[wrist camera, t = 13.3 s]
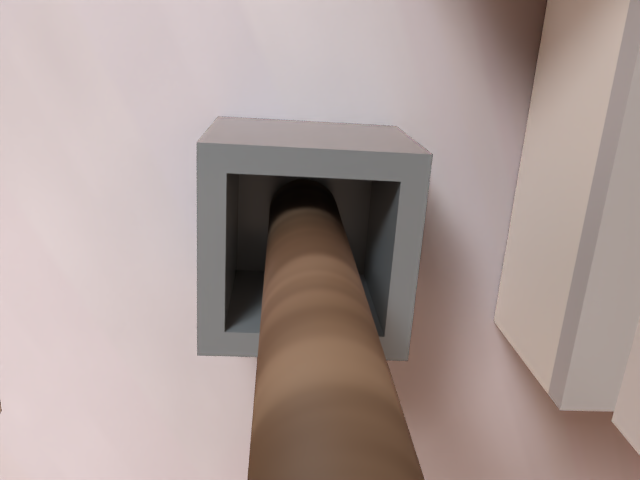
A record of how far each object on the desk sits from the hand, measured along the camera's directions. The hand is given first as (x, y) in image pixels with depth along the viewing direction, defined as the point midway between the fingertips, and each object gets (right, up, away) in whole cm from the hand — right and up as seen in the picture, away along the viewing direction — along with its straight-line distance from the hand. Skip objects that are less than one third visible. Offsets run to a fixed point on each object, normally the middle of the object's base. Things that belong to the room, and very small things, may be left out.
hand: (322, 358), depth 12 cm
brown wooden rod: (-1, +4, +13) cm, 13 cm away
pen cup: (-1, +4, +13) cm, 14 cm away
